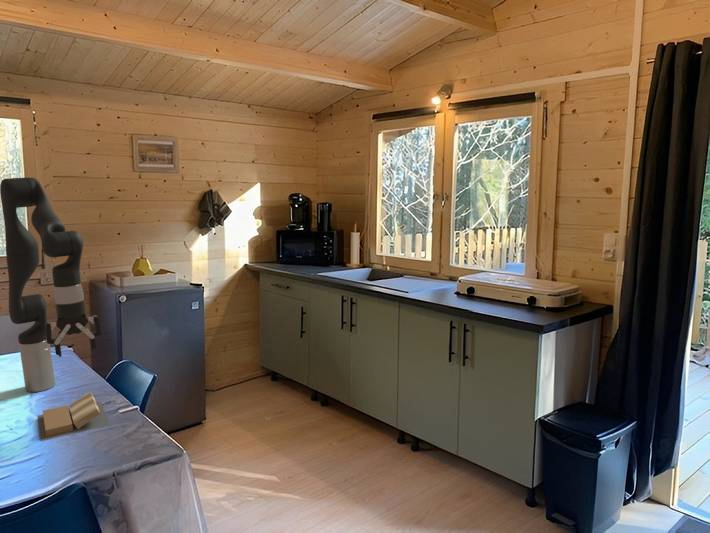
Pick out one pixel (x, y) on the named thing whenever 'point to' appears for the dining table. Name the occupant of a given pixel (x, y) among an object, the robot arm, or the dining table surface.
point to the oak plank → (84, 410)
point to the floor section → (66, 422)
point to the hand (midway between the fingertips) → (76, 353)
